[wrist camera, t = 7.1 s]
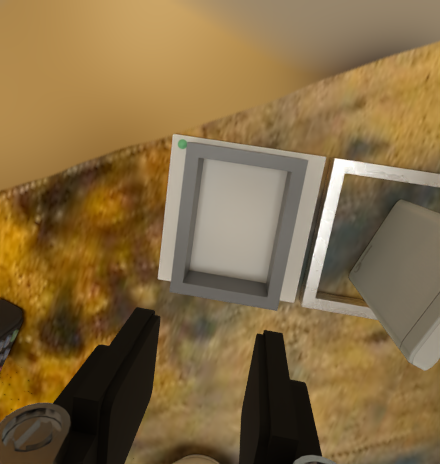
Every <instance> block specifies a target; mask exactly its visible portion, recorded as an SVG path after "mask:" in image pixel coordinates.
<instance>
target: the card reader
mask: <svg viewBox="0 0 440 464" xmlns="http://www.w3.org/2000/svg"><path fill="white" fill-rule="evenodd" d="M22 322H23V318H22V310H21V309H20V308H18V307H16V306H14V305H13V304H11V303H9V302H7V301H5V300H0V371H1V369H2V366H3V364H4V362H5V360H6V358H7V356H8V353H9V351H10V349H11V346H12V344H13V342H14V340H15V338H16V336H17V333H18V331H19V329H20V327H21V324H22Z"/></svg>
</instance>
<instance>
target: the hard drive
mask: <svg viewBox="0 0 440 464" xmlns="http://www.w3.org/2000/svg"><path fill="white" fill-rule="evenodd" d="M349 279H350V281H351V282H352V283H353V285H354V286H355V288H356V289H357V290H358V292H359V293H360V295H361V296H362V297H363V299H364V300H365V302H366V303H367V305H368V306H369V308H370V309H371V310H372V312H373V313H374V315H375V316H376V317H377V319H378V320H379V322H380V323H381V324H382V326H383V327H384V329H385V330H386V332H387V333H388V334H389V336H390V337H391V338H392V340H393V341H394V343H395V344H396V345H397V347H398V348H399V349H400V350H401V352H402V354H403V355H404V356H405V358H406V359H407V360H408V362H409V363H411V364H413V365H415V366H417V367H419V368H421V369H423V370H425V371H426V370H428V369H429V368H431V367H432V366H433V365H434V364H435V363H436V362H437V361H438V360H439V358H440V213H437V212H435V211H432V210H429V209H427V208H424V207H421V206H419V205H416V204H413V203H411V202H408V201H405V200H403V199H401V200H399V201H398V202H397V203H396V204H395V205H394V207H393V208H392V210H391V211H390V213H389V214H388V216H387V217H386V219H385V220H384V222H383V223H382V225H381V226H380V228H379V229H378V231H377V232H376V234H375V235H374V237H373V238H372V240H371V241H370V243H369V245H368V246H367V248H366V249H365V251H364V252H363V254H362V255H361V257H360V258H359V260H358V261H357V263H356V264H355V266H354V267H353V269H352V270H351V272H350V274H349Z"/></svg>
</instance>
